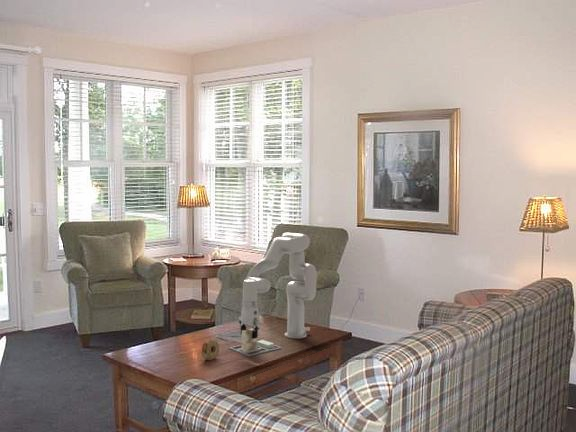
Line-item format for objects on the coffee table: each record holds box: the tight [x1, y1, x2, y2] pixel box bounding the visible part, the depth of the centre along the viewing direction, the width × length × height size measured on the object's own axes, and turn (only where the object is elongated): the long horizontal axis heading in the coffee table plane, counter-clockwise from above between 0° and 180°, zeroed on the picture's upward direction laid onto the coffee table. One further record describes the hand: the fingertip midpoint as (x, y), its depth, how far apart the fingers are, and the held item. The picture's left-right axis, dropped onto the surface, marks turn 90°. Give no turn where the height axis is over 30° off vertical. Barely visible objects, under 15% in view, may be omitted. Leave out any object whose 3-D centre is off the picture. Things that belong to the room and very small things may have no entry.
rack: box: [228, 339, 283, 358], centre depth 329 cm, size 22×17×2 cm
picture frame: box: [216, 329, 264, 344], centre depth 352 cm, size 16×2×22 cm
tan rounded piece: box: [201, 338, 220, 361], centre depth 314 cm, size 10×4×10 cm, turn 143°
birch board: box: [240, 328, 258, 352], centre depth 326 cm, size 8×3×12 cm, turn 131°
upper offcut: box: [257, 339, 275, 350], centre depth 333 cm, size 4×9×2 cm, turn 45°
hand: (248, 336), depth 325 cm, fingers open, 9 cm apart
